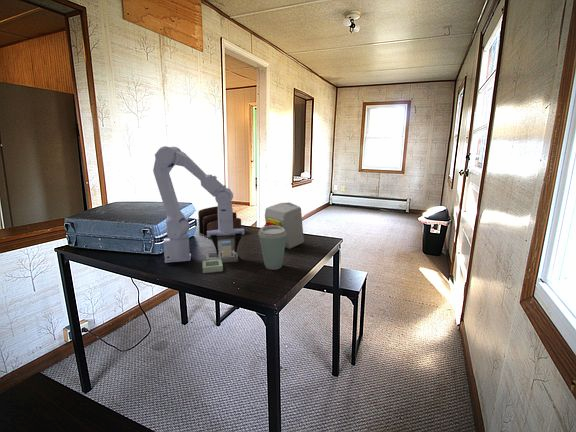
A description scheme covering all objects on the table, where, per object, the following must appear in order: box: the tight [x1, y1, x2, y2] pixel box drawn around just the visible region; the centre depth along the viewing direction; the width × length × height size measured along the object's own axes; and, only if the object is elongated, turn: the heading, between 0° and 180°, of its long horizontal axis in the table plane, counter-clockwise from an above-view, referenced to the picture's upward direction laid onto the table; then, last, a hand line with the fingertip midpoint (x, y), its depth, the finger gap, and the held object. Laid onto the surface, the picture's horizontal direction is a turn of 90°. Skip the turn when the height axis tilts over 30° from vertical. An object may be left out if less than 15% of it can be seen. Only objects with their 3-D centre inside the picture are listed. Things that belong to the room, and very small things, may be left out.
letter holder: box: [197, 205, 242, 240], centre depth 156 cm, size 10×20×14 cm, turn 132°
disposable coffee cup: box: [257, 225, 287, 270], centre depth 111 cm, size 11×11×15 cm
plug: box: [221, 240, 232, 256], centre depth 119 cm, size 4×4×7 cm
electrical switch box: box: [263, 202, 305, 250], centre depth 137 cm, size 14×15×20 cm
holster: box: [201, 259, 224, 274], centre depth 110 cm, size 7×7×2 cm
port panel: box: [205, 249, 239, 264], centre depth 120 cm, size 12×8×2 cm, turn 106°
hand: (226, 252), depth 120 cm, fingers open, 6 cm apart
